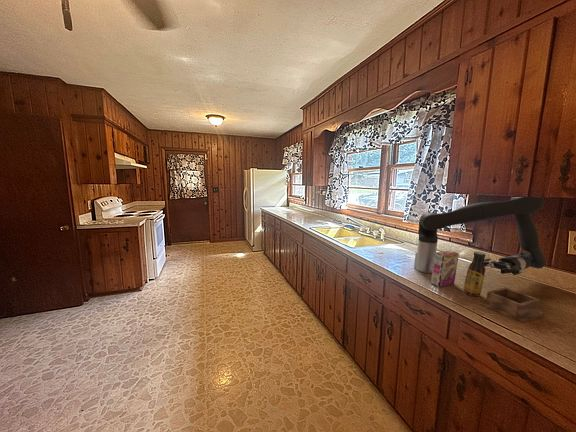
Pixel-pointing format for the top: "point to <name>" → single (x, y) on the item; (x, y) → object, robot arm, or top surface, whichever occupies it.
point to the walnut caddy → (513, 304)
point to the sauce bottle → (475, 275)
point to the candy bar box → (444, 268)
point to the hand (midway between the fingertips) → (490, 268)
